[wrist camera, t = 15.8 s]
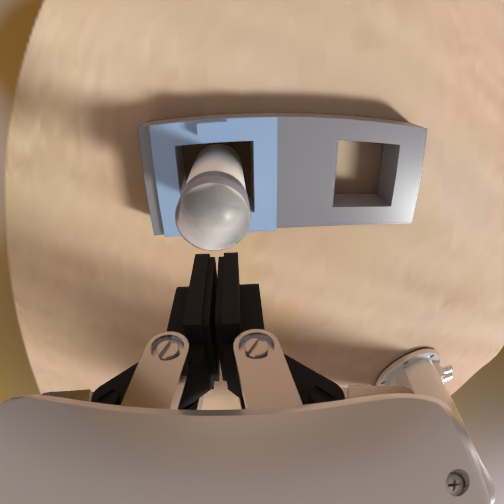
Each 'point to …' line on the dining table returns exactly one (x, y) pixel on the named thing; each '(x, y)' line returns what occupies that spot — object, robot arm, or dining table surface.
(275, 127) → the grey slotted holder
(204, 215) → the plug
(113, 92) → the dining table surface
